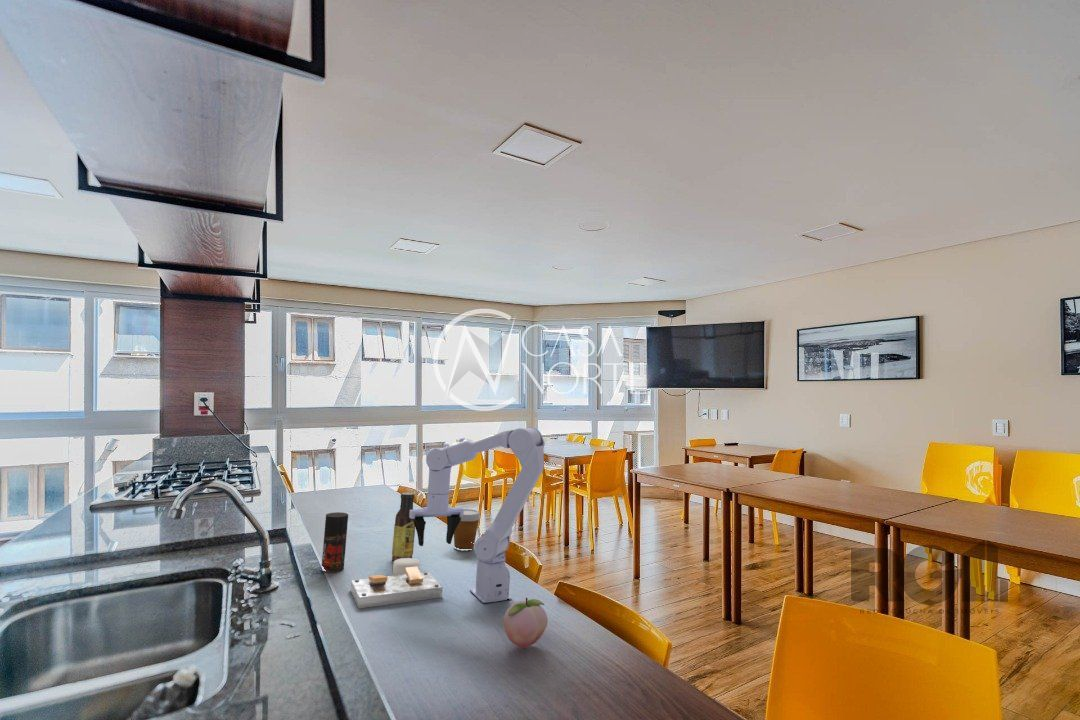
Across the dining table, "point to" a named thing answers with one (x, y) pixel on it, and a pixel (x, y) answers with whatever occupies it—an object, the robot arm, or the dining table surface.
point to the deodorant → (334, 542)
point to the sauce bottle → (404, 529)
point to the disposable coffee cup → (467, 529)
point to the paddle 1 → (378, 578)
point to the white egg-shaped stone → (404, 565)
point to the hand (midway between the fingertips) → (434, 544)
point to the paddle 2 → (413, 575)
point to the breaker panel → (394, 590)
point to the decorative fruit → (525, 622)
